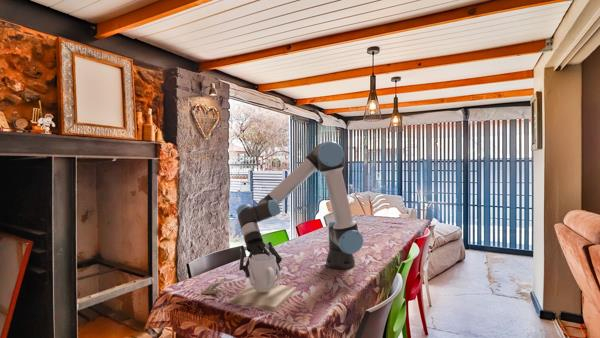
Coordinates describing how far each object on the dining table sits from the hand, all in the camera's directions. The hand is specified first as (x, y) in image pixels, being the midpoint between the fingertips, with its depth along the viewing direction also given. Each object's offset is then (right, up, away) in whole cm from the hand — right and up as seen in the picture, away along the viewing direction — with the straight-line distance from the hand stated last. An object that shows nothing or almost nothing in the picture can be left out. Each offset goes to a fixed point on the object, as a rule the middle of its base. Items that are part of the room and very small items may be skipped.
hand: (266, 281), depth 129 cm
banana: (-21, -8, +14) cm, 27 cm away
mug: (-1, -5, +3) cm, 5 cm away
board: (-1, -7, +3) cm, 8 cm away
